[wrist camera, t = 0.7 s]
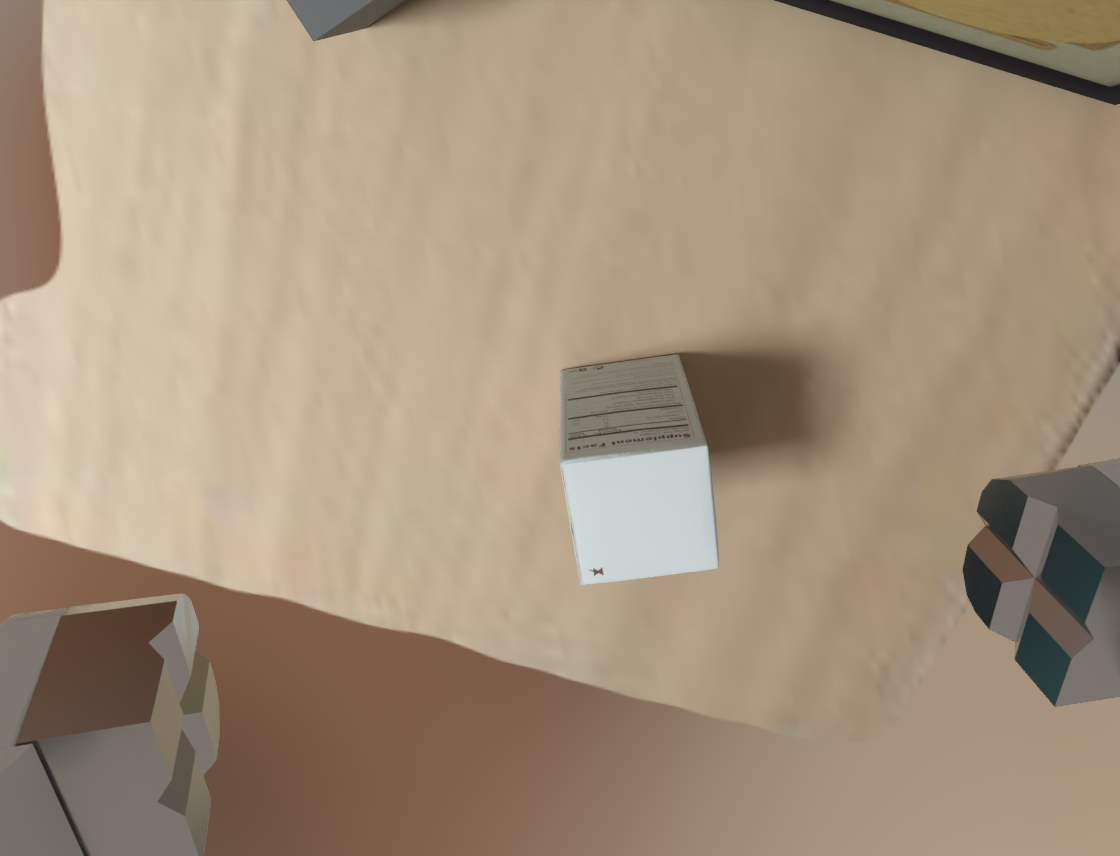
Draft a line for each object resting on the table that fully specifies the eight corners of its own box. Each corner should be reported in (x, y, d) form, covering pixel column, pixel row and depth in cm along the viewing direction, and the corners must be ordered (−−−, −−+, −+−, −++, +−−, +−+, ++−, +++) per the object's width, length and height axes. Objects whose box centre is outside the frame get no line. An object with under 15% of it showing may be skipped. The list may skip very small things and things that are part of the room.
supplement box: (691, 459, 59) (722, 574, 48) (573, 473, 59) (576, 591, 48) (682, 349, 56) (712, 444, 44) (557, 365, 56) (556, 463, 45)
